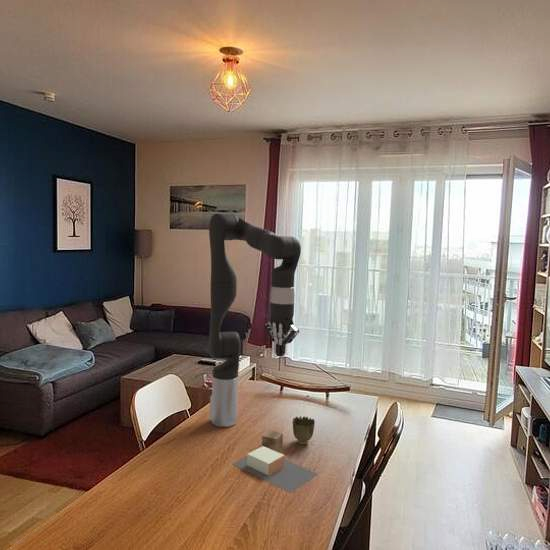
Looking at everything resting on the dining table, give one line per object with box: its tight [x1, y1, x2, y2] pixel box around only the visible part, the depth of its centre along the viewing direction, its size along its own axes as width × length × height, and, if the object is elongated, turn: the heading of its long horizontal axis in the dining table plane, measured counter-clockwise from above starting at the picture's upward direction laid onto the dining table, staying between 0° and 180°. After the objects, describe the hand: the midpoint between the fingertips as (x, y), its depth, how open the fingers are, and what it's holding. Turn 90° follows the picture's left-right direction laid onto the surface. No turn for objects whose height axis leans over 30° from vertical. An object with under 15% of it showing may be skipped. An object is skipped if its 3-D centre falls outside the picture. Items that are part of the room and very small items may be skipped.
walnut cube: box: [261, 429, 284, 453], centre depth 146 cm, size 5×5×5 cm
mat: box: [232, 456, 319, 494], centre depth 133 cm, size 22×13×1 cm, turn 51°
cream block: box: [246, 445, 286, 476], centre depth 135 cm, size 4×7×8 cm
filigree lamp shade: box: [292, 415, 315, 446], centre depth 150 cm, size 8×7×8 cm
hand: (280, 355), depth 142 cm, fingers closed
